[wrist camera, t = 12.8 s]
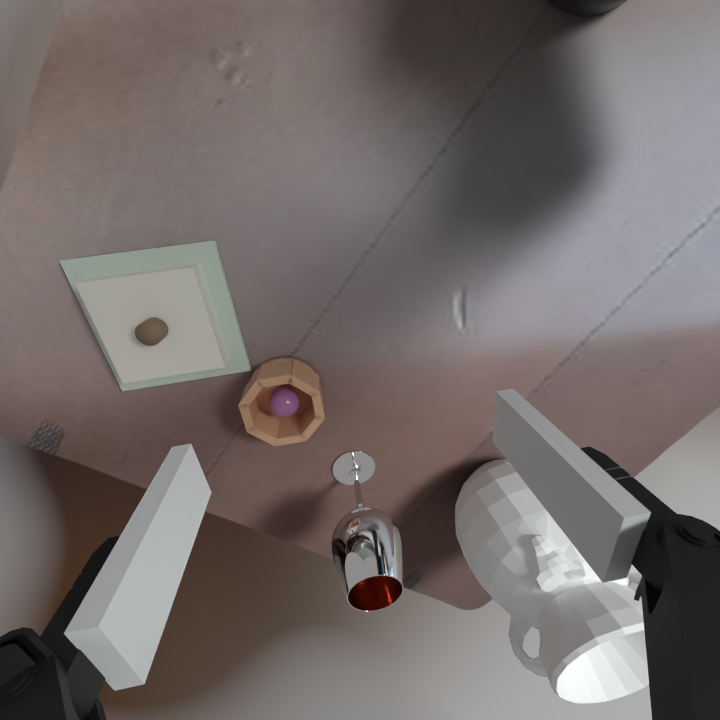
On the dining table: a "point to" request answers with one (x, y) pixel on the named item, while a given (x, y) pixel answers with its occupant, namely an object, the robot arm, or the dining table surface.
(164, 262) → the mat
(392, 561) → the wineglass
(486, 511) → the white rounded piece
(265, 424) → the pot
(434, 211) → the dining table surface
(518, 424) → the robot arm
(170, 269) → the lid
